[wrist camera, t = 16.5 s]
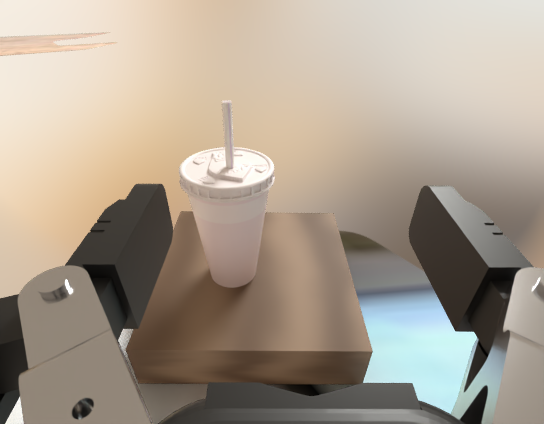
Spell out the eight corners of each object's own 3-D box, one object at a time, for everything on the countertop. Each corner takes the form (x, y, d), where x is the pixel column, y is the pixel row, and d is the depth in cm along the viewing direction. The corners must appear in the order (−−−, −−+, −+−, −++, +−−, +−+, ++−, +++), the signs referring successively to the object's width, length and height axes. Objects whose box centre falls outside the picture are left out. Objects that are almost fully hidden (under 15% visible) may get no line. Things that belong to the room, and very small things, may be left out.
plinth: (329, 243, 37) (333, 213, 35) (362, 384, 24) (372, 351, 22) (185, 241, 37) (180, 211, 35) (138, 383, 24) (125, 349, 22)
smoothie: (210, 313, 24) (186, 123, 16) (184, 259, 29) (155, 92, 21) (286, 282, 27) (297, 106, 19) (251, 238, 31) (248, 82, 23)
